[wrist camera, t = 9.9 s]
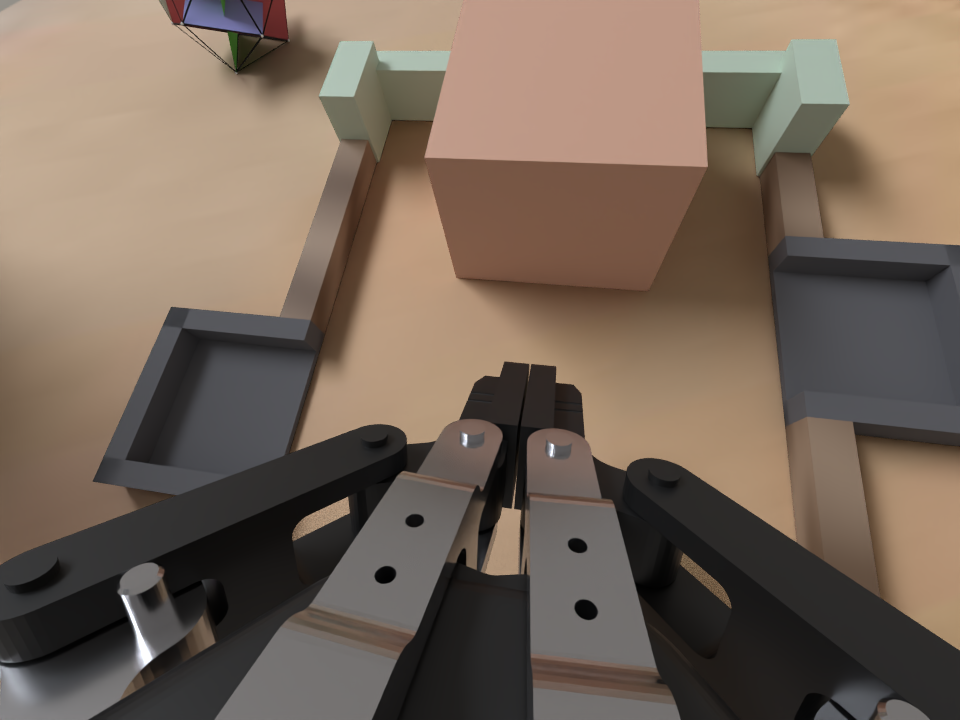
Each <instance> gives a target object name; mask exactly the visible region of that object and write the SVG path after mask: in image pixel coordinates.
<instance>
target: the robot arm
mask: <svg viewBox="0 0 960 720" xmlns="http://www.w3.org/2000/svg"><path fill="white" fill-rule="evenodd" d="M528 378H529V381H528ZM516 477H517V481H516ZM515 483H516V493H515V506H514V509H519V510H521V520H520V531H519V556H518V575H498V576H495V575H488V574H485V571H486V568H487V564H488V561H489V558H490V554H491V551H492V547H493V544H494V541H495V537H496V533H497V522H498V520H499V519H500V515H501V510H502V507H504V508H511V509H512V502H513V496H514V490H515ZM346 497H348V499H349V508H350V513H349V514H347V515H345V516H343V517H341V518H339V519H337V520H335V521H333V522H331V523H329V524H327V525H325V526H323V527H321V528H319V529H317V530H315V531H313V532H311V533H309V534H307V535H305V536H303V537H301V538H299V539H297V540H295V541H292V533H293V530H294V528H295V527H296V525H297V524H298V523H299V522H300V521H301V520H302V519H303V518H304V517H306V516H308V515H310V514H312V513H314V512H316V511H318V510H320V509H322V508H325V507H327V506H329V505H331V504H333V503H335V502H337V501H339V500H342V499H344V498H346ZM683 553H684V554H686V555H687V556H688V557H689V558H690V559H692V560H693V561H694V562H695V563H696V564H698V565H699V566H700V567H701V568H702V569H703V570H705V571H706V572H707V573H708V574H709V575H711V576H712V577H713V578H714V579H715V580H716V581H717V582H719V583H720V585H721V586H722V587H723V588H724V590H725V591H726V593H727V595H728V597H729V599H730V602H731V607H732V610H731V609H730V608H729V607H728V606H727V605H726V604H724V603H723V602H722V601H721V600H720V599H719V598H718V597H716V596H715V595H714V594H713V593H712V592H711V591H710V590H708V589H707V588H706V587H705V586H704V585H703V584H702V583H701V582H699V581H698V580H697V579H696V578H695V577H694V576H693V575H691V574H690V573H689V572H688V571H687V570H686V569H685V568H683V567H682V566H681V565H680V562H681V559H682V555H683ZM0 680H1V690H0V720H960V651H959V650H958V649H956V648H955V647H953V646H952V645H950V644H949V643H947V642H946V641H944V640H943V639H941V638H940V637H938V636H937V635H935V634H934V633H932V632H931V631H929V630H928V629H926V628H925V627H923V626H922V625H920V624H919V623H917V622H916V621H914V620H913V619H911V618H910V617H908V616H907V615H905V614H904V613H902V612H901V611H899V610H898V609H896V608H895V607H893V606H891V605H890V604H888V603H887V602H885V601H884V600H882V599H881V598H879V597H878V596H876V595H875V594H873V593H872V592H870V591H869V590H867V589H866V588H864V587H863V586H861V585H860V584H858V583H857V582H855V581H854V580H852V579H851V578H849V577H848V576H846V575H845V574H843V573H842V572H840V571H839V570H837V569H836V568H834V567H833V566H831V565H830V564H828V563H827V562H825V561H824V560H822V559H821V558H819V557H818V556H816V555H815V554H813V553H811V552H810V551H808V550H807V549H805V548H804V547H802V546H801V545H799V544H798V543H796V542H795V541H793V540H792V539H790V538H789V537H787V536H786V535H784V534H783V533H781V532H780V531H778V530H777V529H775V528H774V527H772V526H771V525H769V524H768V523H766V522H765V521H763V520H762V519H760V518H759V517H757V516H756V515H754V514H753V513H751V512H750V511H748V510H747V509H745V508H744V507H742V506H741V505H739V504H738V503H736V502H735V501H733V500H731V499H730V498H728V497H727V496H725V495H724V494H722V493H721V492H719V491H718V490H716V489H715V488H713V487H712V486H710V485H709V484H707V483H706V482H704V481H703V480H701V479H700V478H698V477H697V476H695V475H694V474H692V473H691V472H689V471H688V470H686V469H685V468H683V467H681V466H679V465H677V464H675V463H672V462H669V461H666V460H661V459H654V458H644V459H639V460H636V461H634V462H632V463H631V464H630V465H629V466H628V468H627V471H624V470H621V469H618V468H615V467H612V466H609V465H607V464H605V463H603V462H601V461H599V460H598V459H596V458H595V457H594V456H593V455H592V453H591V449H590V446H589V444H588V442H587V441H586V440H585V435H584V422H583V408H582V395H581V393H580V392H579V391H578V389H577V388H576V387H575V386H574V385H571V384H561V383H556V366H546V365H535V364H531V369H530V375H529V364H525V363H514V362H504V365H503V368H502V371H501V375H500V377H492V376H484V377H483V378H481V379H480V380H478V381H477V382H475V384H474V386H473V388H472V391H471V393H470V395H469V398H468V401H467V403H466V405H465V407H464V410H463V412H462V414H461V417H460V419H459V420H458V421H455V422H453V423H451V424H449V425H447V426H446V427H445V428H444V429H443V431H442V433H441V434H440V436H439V437H438V439H437V441H434V442H429V443H418V444H407V438H406V435H405V433H404V432H403V431H402V430H400V429H399V428H397V427H394V426H391V425H383V424H375V425H368V426H364V427H360V428H358V429H355V430H352V431H349V432H347V433H344V434H341V435H339V436H336V437H333V438H331V439H328V440H325V441H322V442H320V443H317V444H314V445H312V446H309V447H306V448H304V449H301V450H298V451H295V452H293V453H290V454H287V455H285V456H282V457H279V458H277V459H274V460H271V461H269V462H266V463H263V464H260V465H258V466H255V467H252V468H250V469H247V470H244V471H242V472H239V473H236V474H233V475H231V476H228V477H225V478H223V479H220V480H217V481H215V482H212V483H209V484H206V485H204V486H201V487H198V488H196V489H193V490H190V491H188V492H185V493H182V494H179V495H177V496H174V497H171V498H169V499H166V500H163V501H161V502H158V503H155V504H152V505H150V506H147V507H144V508H142V509H139V510H136V511H134V512H131V513H128V514H126V515H123V516H120V517H117V518H115V519H112V520H109V521H107V522H104V523H101V524H99V525H96V526H93V527H90V528H88V529H85V530H82V531H80V532H77V533H74V534H72V535H69V536H66V537H63V538H61V539H58V540H55V541H53V542H50V543H47V544H45V545H42V546H39V547H36V548H34V549H31V550H29V551H26V552H24V553H22V554H20V555H18V556H16V557H14V558H12V559H10V560H8V561H7V562H5V563H3V564H2V565H0Z"/></svg>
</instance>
